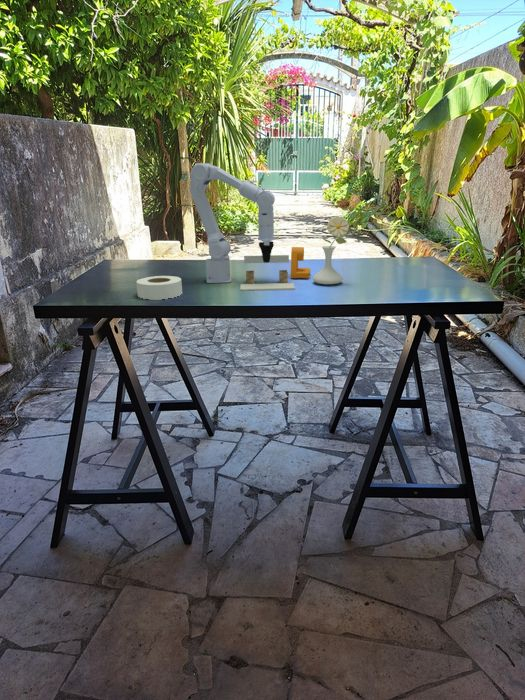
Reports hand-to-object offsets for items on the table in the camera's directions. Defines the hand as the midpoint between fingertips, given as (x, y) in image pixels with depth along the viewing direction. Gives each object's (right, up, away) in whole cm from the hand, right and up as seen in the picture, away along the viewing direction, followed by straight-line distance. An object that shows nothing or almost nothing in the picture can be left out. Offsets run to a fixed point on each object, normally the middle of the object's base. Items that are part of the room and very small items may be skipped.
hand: (266, 261), depth 184 cm
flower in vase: (+24, -9, -1) cm, 26 cm away
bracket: (+14, -4, +11) cm, 19 cm away
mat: (0, -11, -6) cm, 12 cm away
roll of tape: (-38, -15, -12) cm, 43 cm away
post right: (+7, -7, +3) cm, 10 cm away
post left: (-6, -8, +3) cm, 10 cm away
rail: (0, 0, 0) cm, 0 cm away
